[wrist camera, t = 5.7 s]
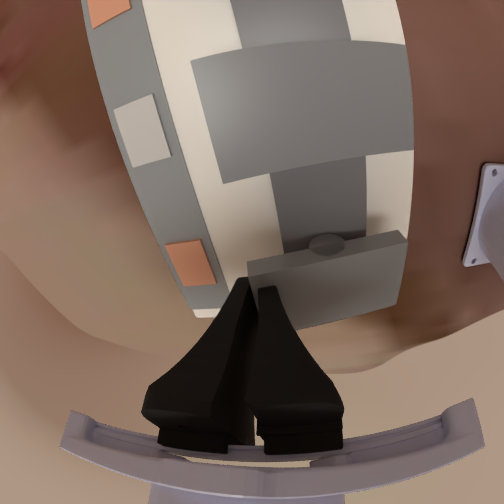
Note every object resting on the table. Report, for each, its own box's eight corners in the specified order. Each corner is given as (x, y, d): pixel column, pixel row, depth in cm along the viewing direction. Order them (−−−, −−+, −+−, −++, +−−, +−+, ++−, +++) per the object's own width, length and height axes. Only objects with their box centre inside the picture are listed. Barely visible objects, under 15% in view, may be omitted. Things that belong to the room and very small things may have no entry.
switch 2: (390, 221, 12) (408, 241, 10) (383, 282, 14) (396, 304, 13) (245, 250, 12) (247, 277, 11) (261, 309, 15) (265, 336, 13)
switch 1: (378, 46, 7) (405, 44, 6) (388, 138, 10) (413, 149, 8) (194, 65, 7) (190, 60, 6) (221, 167, 10) (223, 184, 8)
